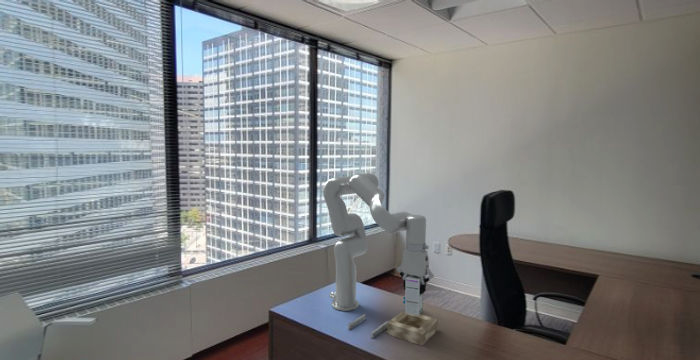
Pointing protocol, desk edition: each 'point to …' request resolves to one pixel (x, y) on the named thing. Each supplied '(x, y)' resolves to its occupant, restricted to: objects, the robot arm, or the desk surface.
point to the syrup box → (413, 295)
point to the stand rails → (362, 318)
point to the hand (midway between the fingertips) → (414, 290)
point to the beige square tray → (412, 327)
